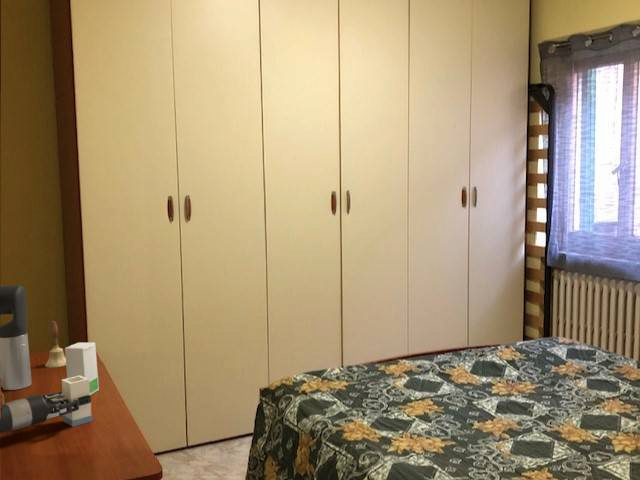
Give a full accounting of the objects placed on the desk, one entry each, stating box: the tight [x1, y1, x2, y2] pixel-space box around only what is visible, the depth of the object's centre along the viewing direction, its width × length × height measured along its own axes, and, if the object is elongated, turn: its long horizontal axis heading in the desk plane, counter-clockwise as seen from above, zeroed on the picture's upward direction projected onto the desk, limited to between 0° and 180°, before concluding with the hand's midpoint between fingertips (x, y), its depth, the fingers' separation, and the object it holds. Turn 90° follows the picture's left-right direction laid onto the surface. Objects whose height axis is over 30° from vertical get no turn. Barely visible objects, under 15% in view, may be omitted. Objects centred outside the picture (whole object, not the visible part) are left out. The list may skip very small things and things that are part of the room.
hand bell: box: [44, 320, 66, 369], centre depth 257 cm, size 8×8×16 cm
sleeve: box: [61, 375, 94, 428], centre depth 199 cm, size 6×6×12 cm
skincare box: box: [64, 342, 100, 396], centre depth 223 cm, size 8×7×16 cm
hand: (85, 396), depth 201 cm, fingers closed on sleeve, 5 cm apart
